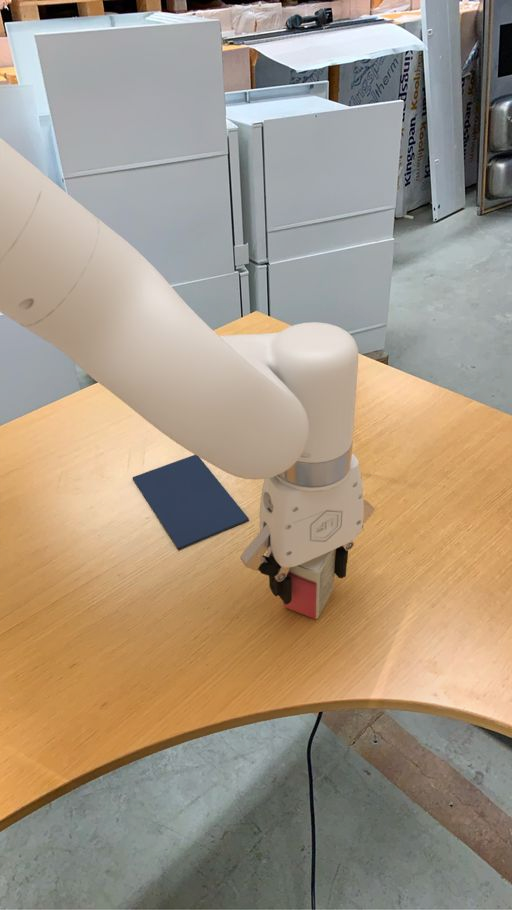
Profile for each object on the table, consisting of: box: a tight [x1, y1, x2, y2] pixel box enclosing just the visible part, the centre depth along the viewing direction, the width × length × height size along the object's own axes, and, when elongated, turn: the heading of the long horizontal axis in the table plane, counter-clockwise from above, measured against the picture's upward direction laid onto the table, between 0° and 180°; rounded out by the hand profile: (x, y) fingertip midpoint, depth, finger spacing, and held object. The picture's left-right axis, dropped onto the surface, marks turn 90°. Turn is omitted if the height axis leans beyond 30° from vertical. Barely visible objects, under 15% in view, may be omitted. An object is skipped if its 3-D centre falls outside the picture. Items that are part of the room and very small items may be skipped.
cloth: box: [132, 454, 250, 551], centre depth 88 cm, size 10×16×1 cm, turn 29°
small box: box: [282, 549, 336, 620], centre depth 71 cm, size 5×4×8 cm
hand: (308, 581), depth 72 cm, fingers closed on small box, 6 cm apart
